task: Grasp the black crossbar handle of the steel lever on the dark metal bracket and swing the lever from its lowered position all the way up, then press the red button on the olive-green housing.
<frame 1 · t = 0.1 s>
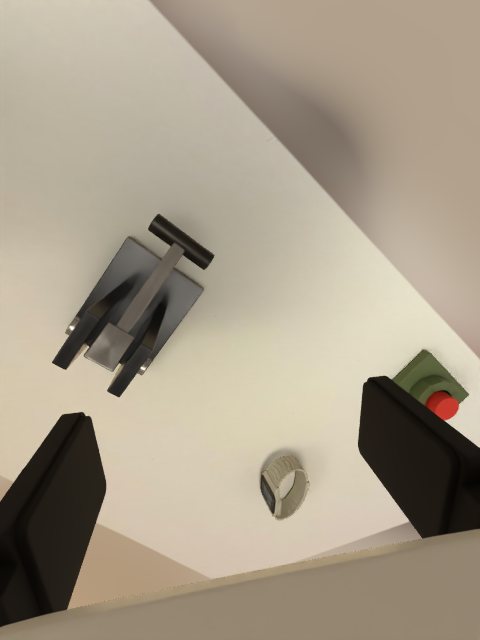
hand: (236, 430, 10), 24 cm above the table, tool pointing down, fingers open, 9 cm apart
lever: (146, 294, 23), point 9 cm above the table, hinge at -26.0°
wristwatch: (281, 475, 42), on the table
button: (441, 405, 38), point 3 cm above the table, slide at 0.1 cm
bracket: (137, 308, 32), on the table
button box: (422, 391, 41), on the table
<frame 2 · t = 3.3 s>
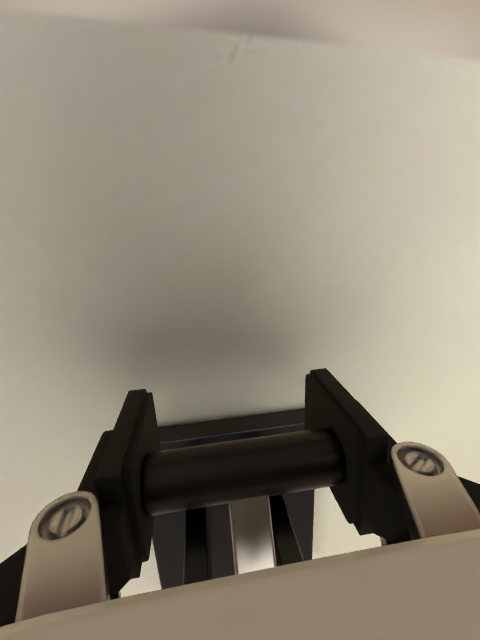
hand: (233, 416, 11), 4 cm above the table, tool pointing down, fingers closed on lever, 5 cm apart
bracket: (233, 505, 18), on the table
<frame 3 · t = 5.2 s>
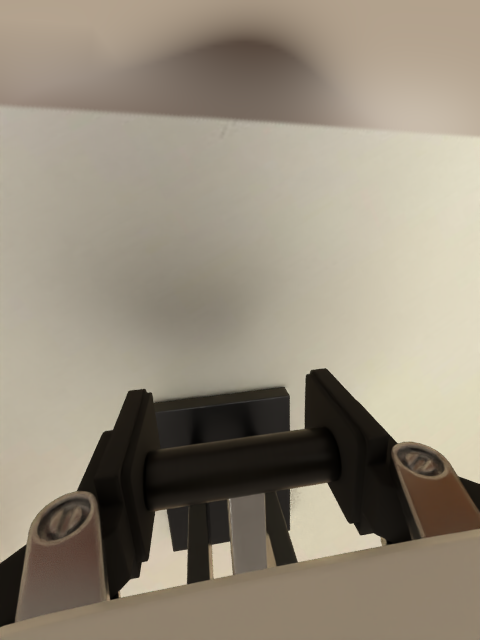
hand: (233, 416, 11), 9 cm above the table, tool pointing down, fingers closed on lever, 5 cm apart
lever: (250, 589, 10), point 11 cm above the table, hinge at -0.1°, touching gripper
bracket: (226, 465, 22), on the table
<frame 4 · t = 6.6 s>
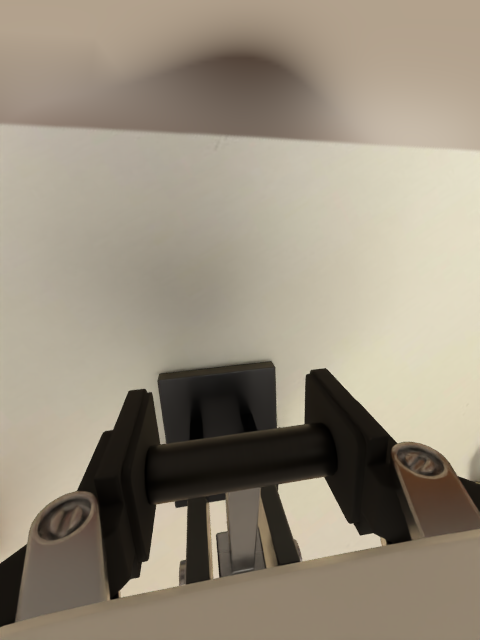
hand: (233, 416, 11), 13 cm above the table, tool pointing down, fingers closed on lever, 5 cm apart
lever: (241, 529, 12), point 13 cm above the table, hinge at 20.3°, touching gripper
bracket: (221, 431, 26), on the table
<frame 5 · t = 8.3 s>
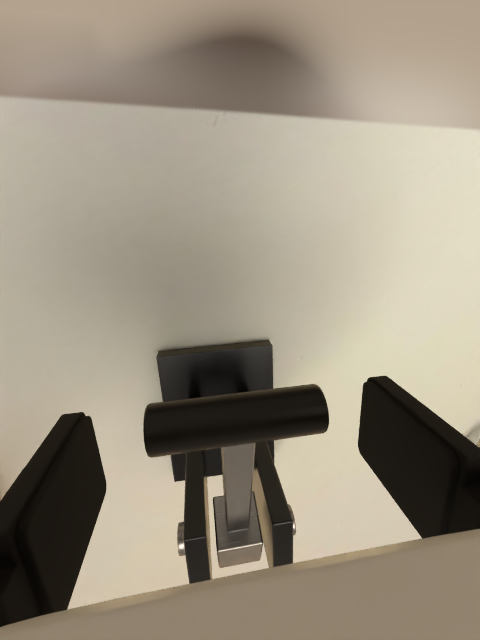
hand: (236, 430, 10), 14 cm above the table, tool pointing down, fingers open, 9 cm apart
lever: (236, 490, 13), point 13 cm above the table, hinge at 21.1°
bracket: (219, 408, 26), on the table
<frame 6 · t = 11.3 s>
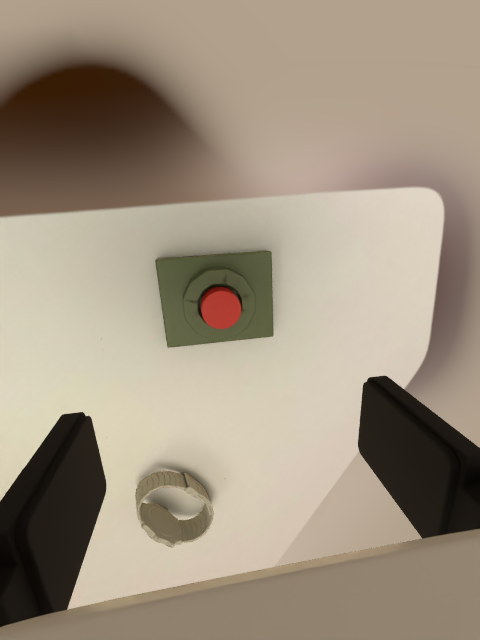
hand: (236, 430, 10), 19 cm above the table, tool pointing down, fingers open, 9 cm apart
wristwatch: (176, 489, 34), on the table
button: (220, 307, 25), point 3 cm above the table, slide at 0.1 cm
button box: (217, 297, 28), on the table
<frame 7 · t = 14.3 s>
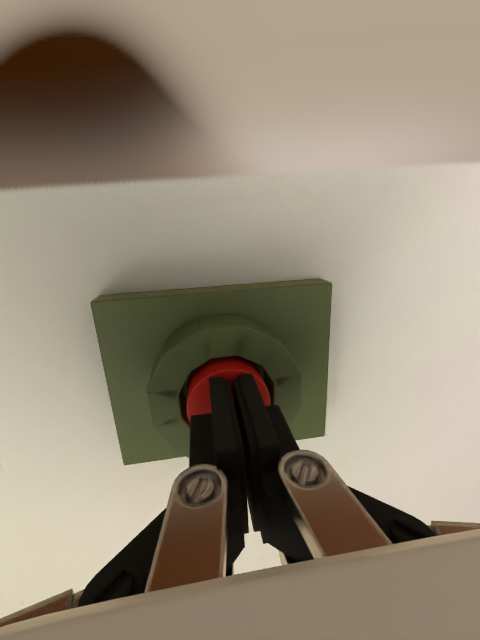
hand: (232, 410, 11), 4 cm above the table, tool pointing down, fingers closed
button: (227, 395, 12), point 3 cm above the table, slide at -0.7 cm, touching gripper
button box: (221, 366, 15), on the table
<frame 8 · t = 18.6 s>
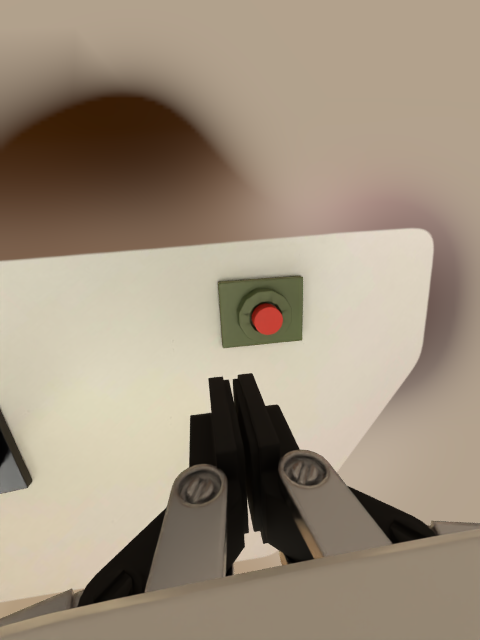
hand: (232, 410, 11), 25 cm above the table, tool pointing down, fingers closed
button: (267, 318, 34), point 3 cm above the table, slide at 0.1 cm
button box: (260, 310, 37), on the table
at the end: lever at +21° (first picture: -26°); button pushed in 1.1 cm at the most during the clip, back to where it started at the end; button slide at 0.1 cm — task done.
